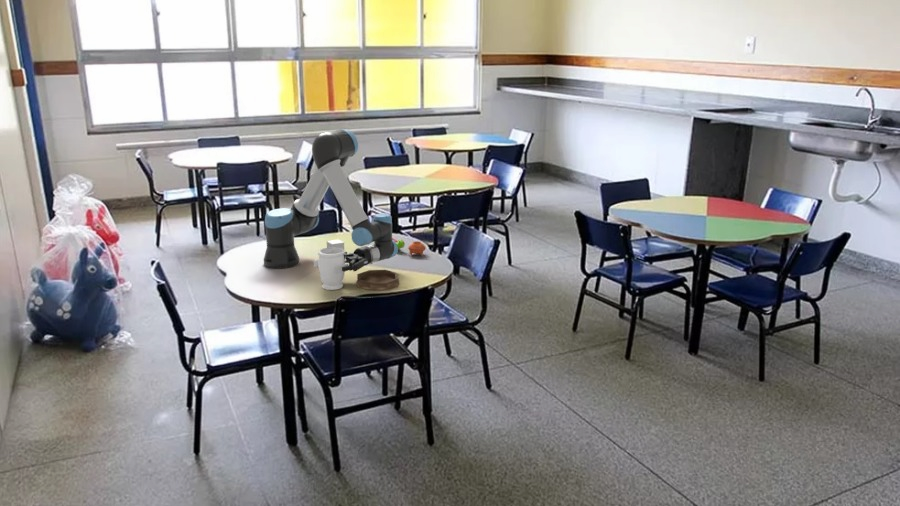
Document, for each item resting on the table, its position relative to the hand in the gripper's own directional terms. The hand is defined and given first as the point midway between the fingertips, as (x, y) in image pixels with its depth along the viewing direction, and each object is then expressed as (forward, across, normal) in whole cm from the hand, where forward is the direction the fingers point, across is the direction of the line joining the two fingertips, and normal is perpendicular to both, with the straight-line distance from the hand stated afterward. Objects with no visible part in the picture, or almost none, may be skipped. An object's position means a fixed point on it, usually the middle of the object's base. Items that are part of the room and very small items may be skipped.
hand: (324, 267), depth 268 cm
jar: (-4, 0, -9) cm, 10 cm away
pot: (-58, +6, -9) cm, 59 cm away
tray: (-19, -10, -9) cm, 23 cm away
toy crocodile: (-56, +23, -9) cm, 61 cm away
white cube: (-33, +33, -9) cm, 47 cm away
